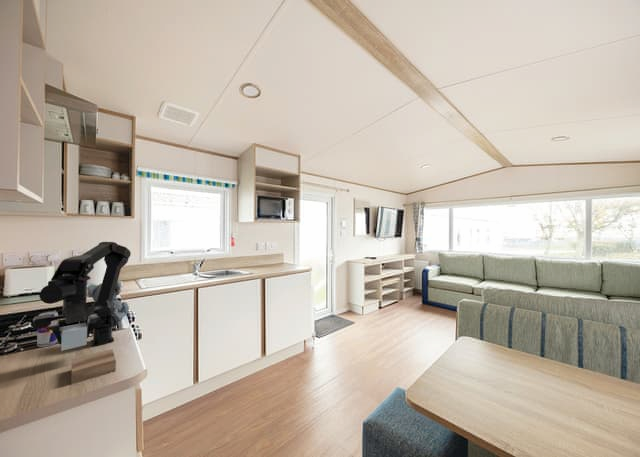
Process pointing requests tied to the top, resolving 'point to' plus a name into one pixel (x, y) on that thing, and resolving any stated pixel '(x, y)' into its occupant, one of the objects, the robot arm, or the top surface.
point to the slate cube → (73, 336)
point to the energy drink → (46, 334)
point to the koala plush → (120, 308)
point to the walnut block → (93, 366)
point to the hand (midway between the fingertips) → (73, 341)
